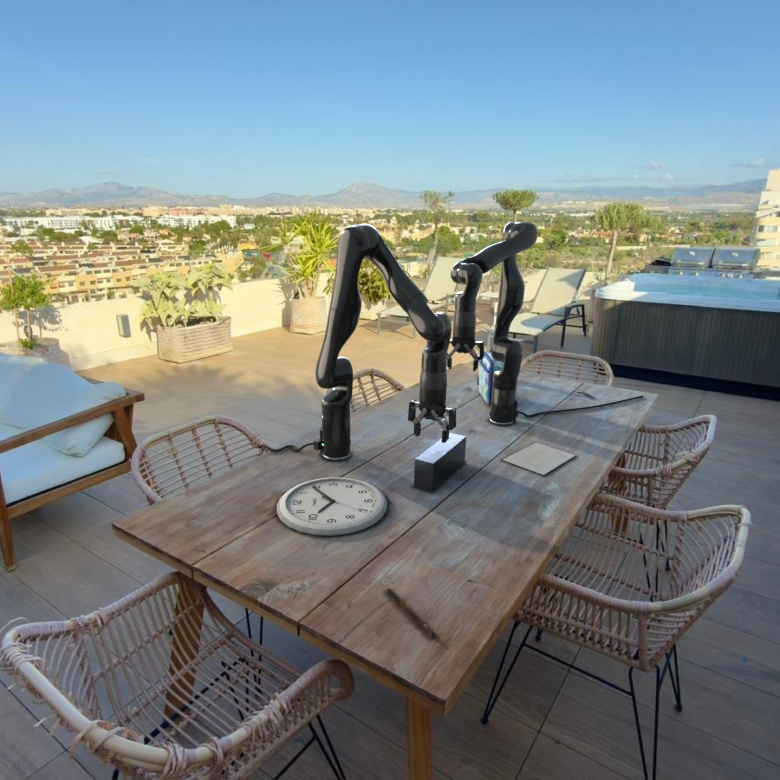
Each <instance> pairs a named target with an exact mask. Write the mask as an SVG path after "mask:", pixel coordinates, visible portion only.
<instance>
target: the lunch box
mask: <svg viewBox="0 0 780 780" xmlns="http://www.w3.org/2000/svg"><path fill="white" fill-rule="evenodd" d="M503 367H504V363H503V362H500V361H497V360H494V359H493V358H492V356H491V352H489V351H484V358H483V359H482V360H478V377H477V381H476V384H477V385H476V386H478V393H479V395H480V396H481V397H482V399H483V400H484V402H485V404H487V405H488V406H489V405H490V406H491V398H492V385H493V374H494V372H495V371H497V370H503Z"/></svg>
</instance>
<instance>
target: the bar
mask: <svg viewBox="0 0 780 780" xmlns="http://www.w3.org/2000/svg"><path fill="white" fill-rule="evenodd" d="M466 447H467V436H466V435H461V434H457V433H452V432H449V439H448V440H447V441H446V442H445V443H442V438H440V439H439V440H438V441H436V442H435V443H434V444H432V445H431V446H430V447H428V448H427V449H426V450H425V451H422V453H421V454H419V455H418V456H417V457H415V458H414V473H413V488H415V489H419V490H421V491H424V492H425V491H426V492H429V493H434V491H436V489H438V488H439V487H440V486H441V485H443V483H444V482H445V481H446V480H448V479H449V478H450V477H451V476H452V475H453V474H454V473H455V472H457V470H458V469H459V468H460V467H462V466H463V465H464V464H465V462H466V449H467V448H466Z"/></svg>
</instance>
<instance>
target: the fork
mask: <svg viewBox="0 0 780 780" xmlns="http://www.w3.org/2000/svg"><path fill="white" fill-rule="evenodd" d="M572 387H573V389H574V391H575V392H577V393H582V394H584V395H585V396H588V397H590V398H592V399H595V397H594V396H593V395H591V394H589V393H587V392H585V391H582V390H581V389H580V387H578V385H577V384H575V385H574V384H572Z"/></svg>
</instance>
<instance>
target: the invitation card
mask: <svg viewBox="0 0 780 780" xmlns="http://www.w3.org/2000/svg"><path fill="white" fill-rule="evenodd" d="M576 456H577V455H576V454H573V453H570V452H567V451H565V450H561V449H558V448H555V447H552V446H549V445H546V444H543V443H539V442H534V443H532V444H529V445H528V446H526V447H524V448H522V449H520V450H518V451H516V452H514V453H512V454H510V455H509V456H507V457H505V458H503V459H502V461H503V462H506V463H509V464H511V465H514V466H518V467H520V468H523V469H525V470H528V471H531V472H534V473H536V474H539V475H541V476H545V475H547V474H548V473H550V472H552V471H554V469H556V468H558V467H559V466H561V465H563V464H564V463H566V462H568V461H570V460H571V459H572V458H574V457H576Z"/></svg>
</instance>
